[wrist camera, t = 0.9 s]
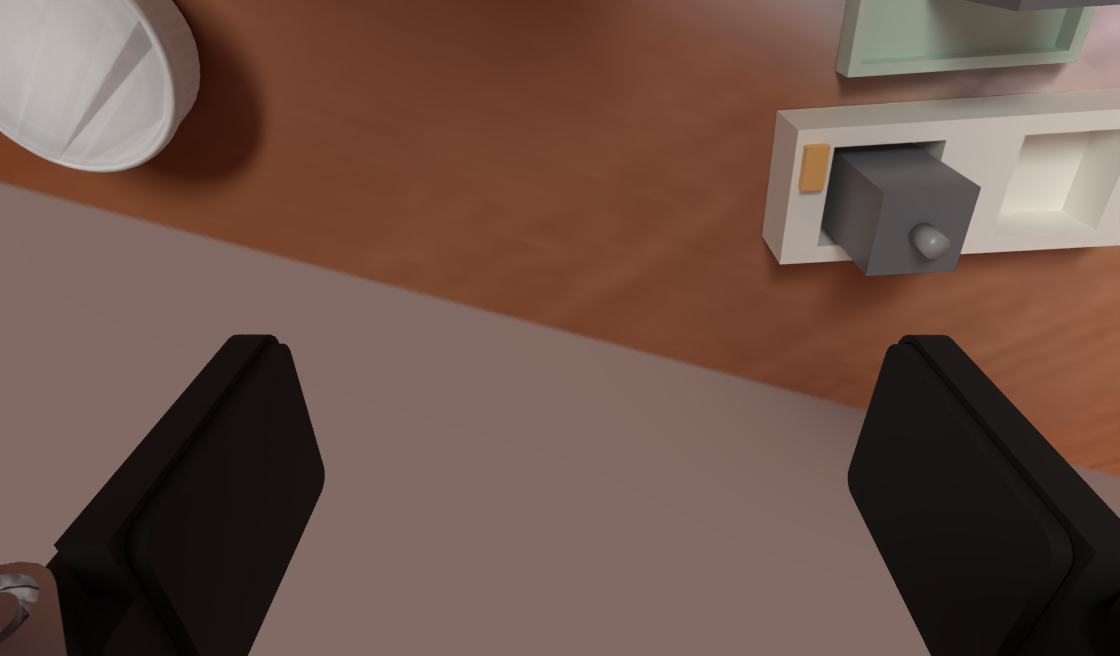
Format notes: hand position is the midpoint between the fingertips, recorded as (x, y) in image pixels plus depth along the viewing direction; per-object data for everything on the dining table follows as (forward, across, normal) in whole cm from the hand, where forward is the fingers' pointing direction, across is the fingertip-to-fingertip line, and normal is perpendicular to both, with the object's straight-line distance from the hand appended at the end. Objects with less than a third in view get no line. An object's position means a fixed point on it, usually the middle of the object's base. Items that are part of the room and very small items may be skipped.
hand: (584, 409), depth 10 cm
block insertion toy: (+30, -22, +6) cm, 38 cm away
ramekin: (+30, +26, -2) cm, 39 cm away
